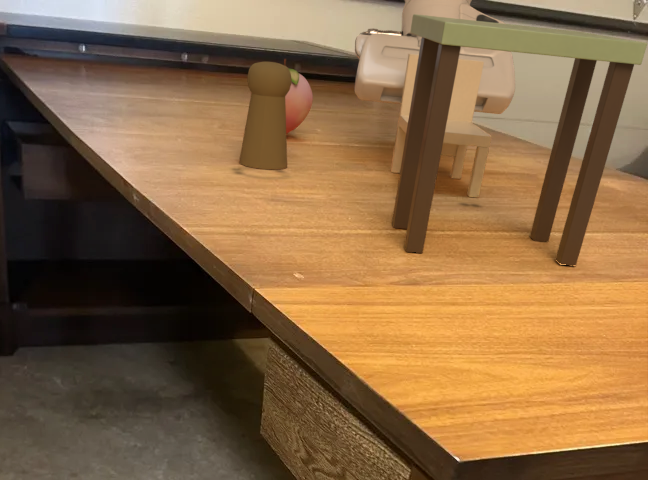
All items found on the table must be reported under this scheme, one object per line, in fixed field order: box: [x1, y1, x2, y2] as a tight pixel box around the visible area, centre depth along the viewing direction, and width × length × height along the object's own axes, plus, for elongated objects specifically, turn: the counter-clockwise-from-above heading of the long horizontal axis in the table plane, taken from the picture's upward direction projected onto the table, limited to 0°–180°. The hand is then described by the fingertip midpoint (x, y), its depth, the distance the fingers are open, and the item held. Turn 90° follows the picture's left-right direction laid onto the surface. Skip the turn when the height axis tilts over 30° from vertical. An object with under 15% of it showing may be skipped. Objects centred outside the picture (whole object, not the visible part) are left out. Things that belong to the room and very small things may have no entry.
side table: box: [391, 14, 648, 266], centre depth 74 cm, size 16×16×18 cm
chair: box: [390, 54, 493, 199], centre depth 97 cm, size 9×12×13 cm
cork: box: [238, 61, 292, 170], centre depth 98 cm, size 6×6×11 cm
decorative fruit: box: [283, 58, 314, 135], centre depth 117 cm, size 9×8×10 cm
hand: (432, 131), depth 103 cm, fingers closed, pressing on chair
